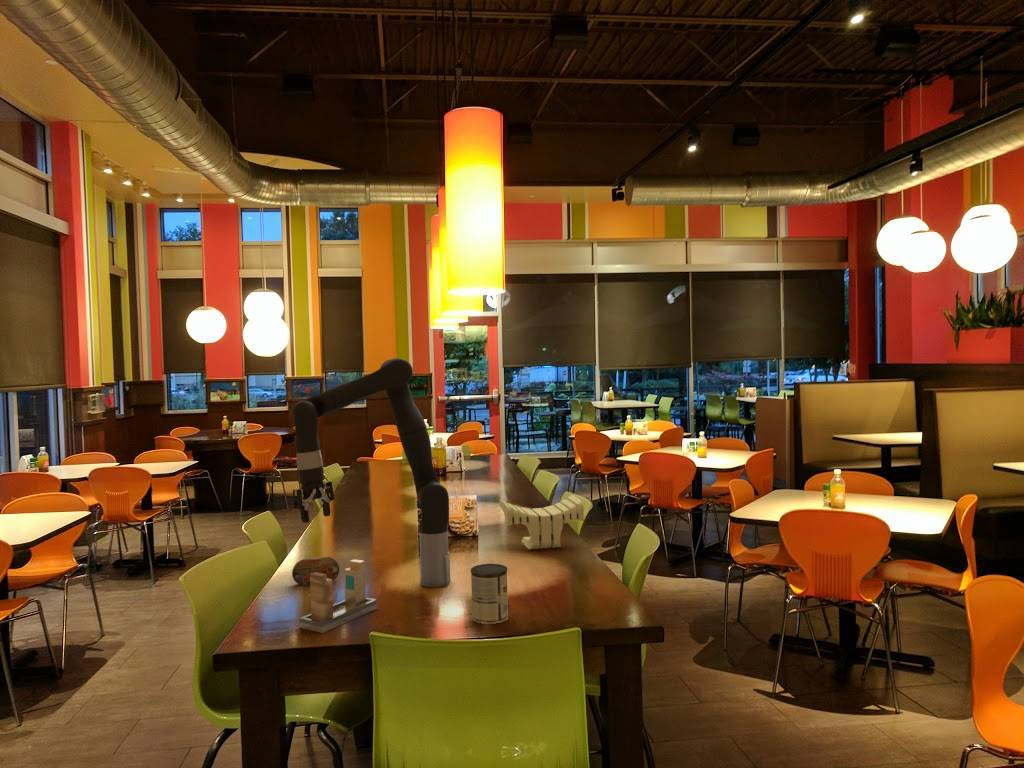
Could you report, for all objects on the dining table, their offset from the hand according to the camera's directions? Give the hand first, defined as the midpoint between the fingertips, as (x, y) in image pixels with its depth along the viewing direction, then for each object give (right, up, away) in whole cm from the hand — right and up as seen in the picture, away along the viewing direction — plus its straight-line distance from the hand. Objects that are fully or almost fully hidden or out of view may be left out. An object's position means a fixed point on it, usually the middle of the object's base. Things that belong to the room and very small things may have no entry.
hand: (316, 519), depth 222 cm
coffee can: (+53, -25, -17) cm, 61 cm away
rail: (+10, -26, -14) cm, 31 cm away
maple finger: (+7, -24, -20) cm, 32 cm away
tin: (-6, -25, +20) cm, 33 cm away
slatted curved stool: (+71, -22, +64) cm, 98 cm away
